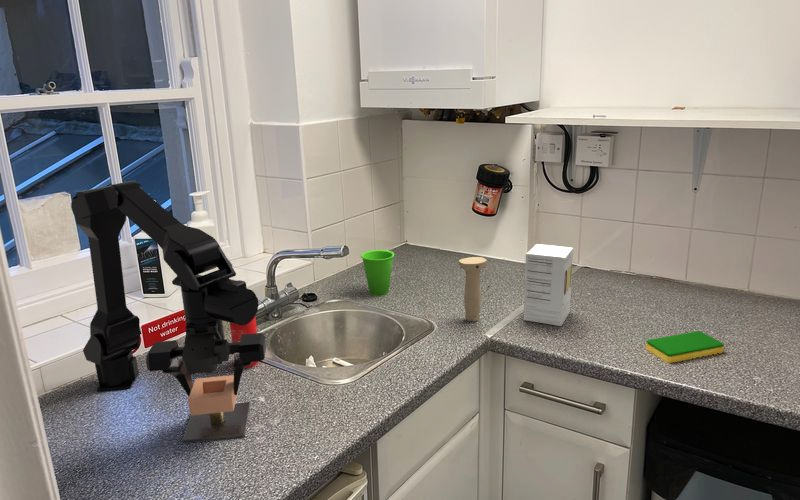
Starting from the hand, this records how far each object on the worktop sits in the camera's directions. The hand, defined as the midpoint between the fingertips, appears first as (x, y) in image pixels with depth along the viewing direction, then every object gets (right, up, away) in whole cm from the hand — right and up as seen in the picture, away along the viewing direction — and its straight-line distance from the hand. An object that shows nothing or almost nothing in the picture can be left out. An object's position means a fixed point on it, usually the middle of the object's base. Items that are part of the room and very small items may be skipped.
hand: (214, 396), depth 102 cm
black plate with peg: (0, -5, +2) cm, 5 cm away
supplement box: (+68, +9, +42) cm, 80 cm away
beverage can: (0, +1, +23) cm, 23 cm away
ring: (0, -1, 0) cm, 1 cm away
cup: (+26, +13, +60) cm, 67 cm away
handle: (+50, +8, +41) cm, 65 cm away
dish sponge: (+92, +3, +23) cm, 95 cm away
